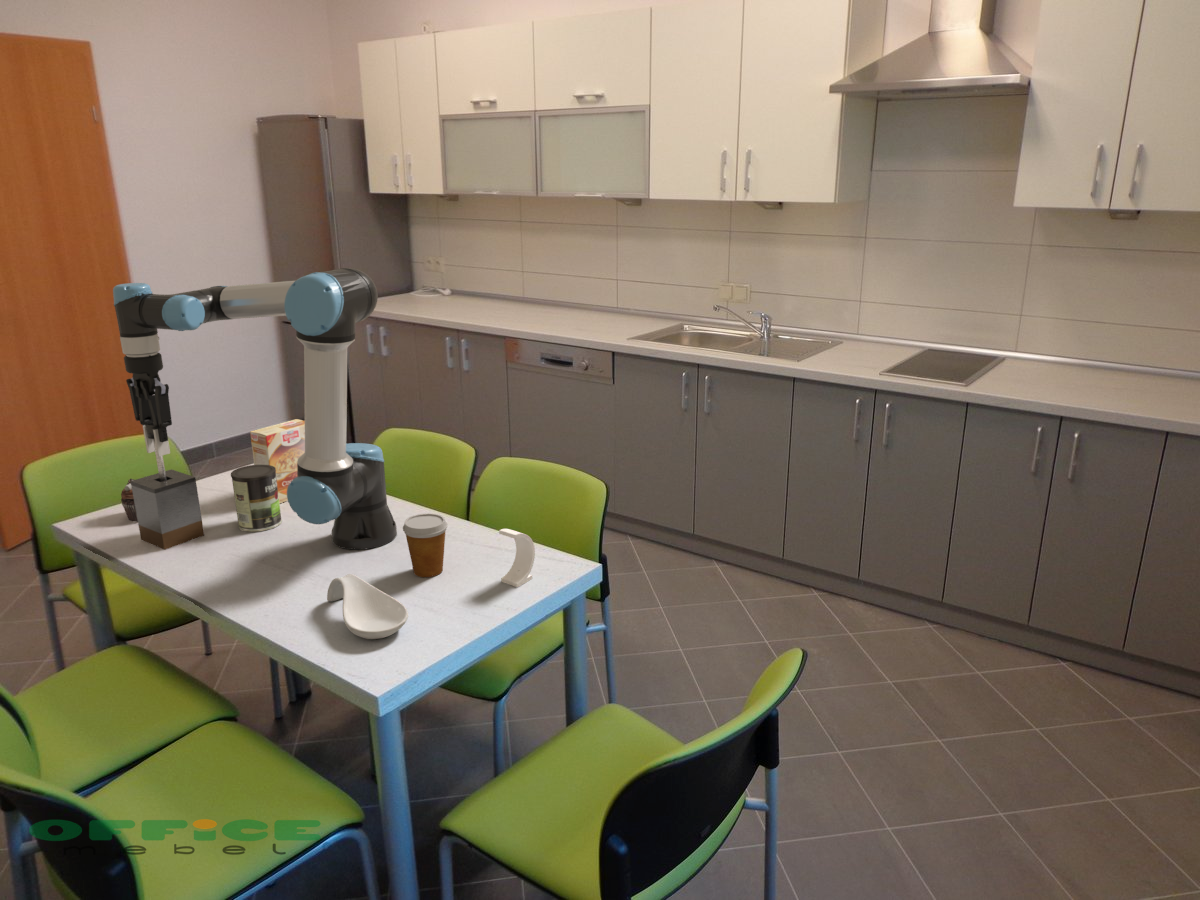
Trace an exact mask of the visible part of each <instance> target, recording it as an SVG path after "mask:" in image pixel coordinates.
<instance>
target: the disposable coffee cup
mask: <svg viewBox="0 0 1200 900" xmlns="http://www.w3.org/2000/svg"><path fill="white" fill-rule="evenodd" d="M448 526H449V525H448V522H447V521H446V519H445V517H444V516H442V515H441V514H438V513H430V512H429V513H418V514H415V515H412V516H409V517H407V518H406V519H405V520H404V524H403V526H402V531H403V532H404V534H405V537H406V542H407V547H408V551H409V556H410V560H411V561H410V562H411V565H412V570H413V574H414V576H416V577H418V578H419V577H420V578H432V577H433V578H434V577H436V576H438V575H440V574H442V572H443V569H444V556H445V544H446V543H445V541H446V531H447V528H448Z"/></svg>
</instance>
